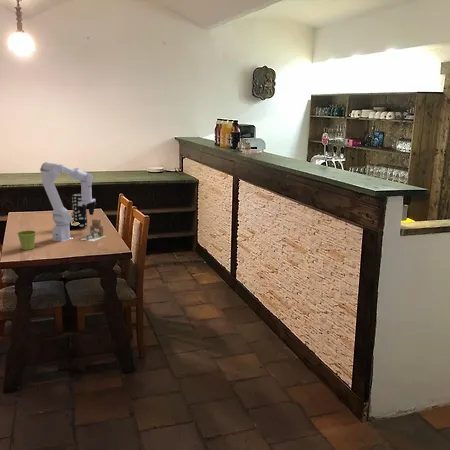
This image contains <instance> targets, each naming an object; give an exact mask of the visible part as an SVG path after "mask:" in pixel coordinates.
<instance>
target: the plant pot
mask: <svg viewBox="0 0 450 450" xmlns="http://www.w3.org/2000/svg"><path fill="white" fill-rule="evenodd" d="M16 234H17V236H18V239H19V242H20V246H21V249H22V250H24V251H30V250H34V249H35V242H36V241H35V240H36V236H37V235H36V234H37V231H36V230H23V231H22V230H21V231H19V232H17V233H16Z"/></svg>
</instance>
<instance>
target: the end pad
mask: <svg viewBox="0 0 450 450" xmlns="http://www.w3.org/2000/svg"><path fill="white" fill-rule="evenodd" d="M90 236H91V235H90ZM94 237H99V235H98V234H96V233H94ZM102 237H103V238H105V237H106V235H104V234H103V236H101V238H100V239H102Z"/></svg>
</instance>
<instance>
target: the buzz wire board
mask: <svg viewBox="0 0 450 450" xmlns="http://www.w3.org/2000/svg"><path fill="white" fill-rule="evenodd" d="M94 234H97V235H99V230H95V229H94V230H92V231H91V233H90V232H89V233H88V234H86V236H85V237H84V238H80V240H81V241H87V242H88V241H89V242H96V241H98V240H100V239H102V238H103V239H104V237H102V238H101V237H94ZM90 235H92V236H90Z"/></svg>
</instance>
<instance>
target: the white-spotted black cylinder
mask: <svg viewBox="0 0 450 450" xmlns="http://www.w3.org/2000/svg"><path fill="white" fill-rule="evenodd" d="M71 200H72V201H71V202H72V203H71V204H72V220H74V221H76V222H79V223H80V225H79V226H80V227H82V228H81V229H85V228H87V227H88V209H86V217H82V216H81V213H80V210H79V208H78V207H77V205H78V202H80V201H82V193H74V194H72V195H71ZM85 206H87V207H88V205H87V204H85Z"/></svg>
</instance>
